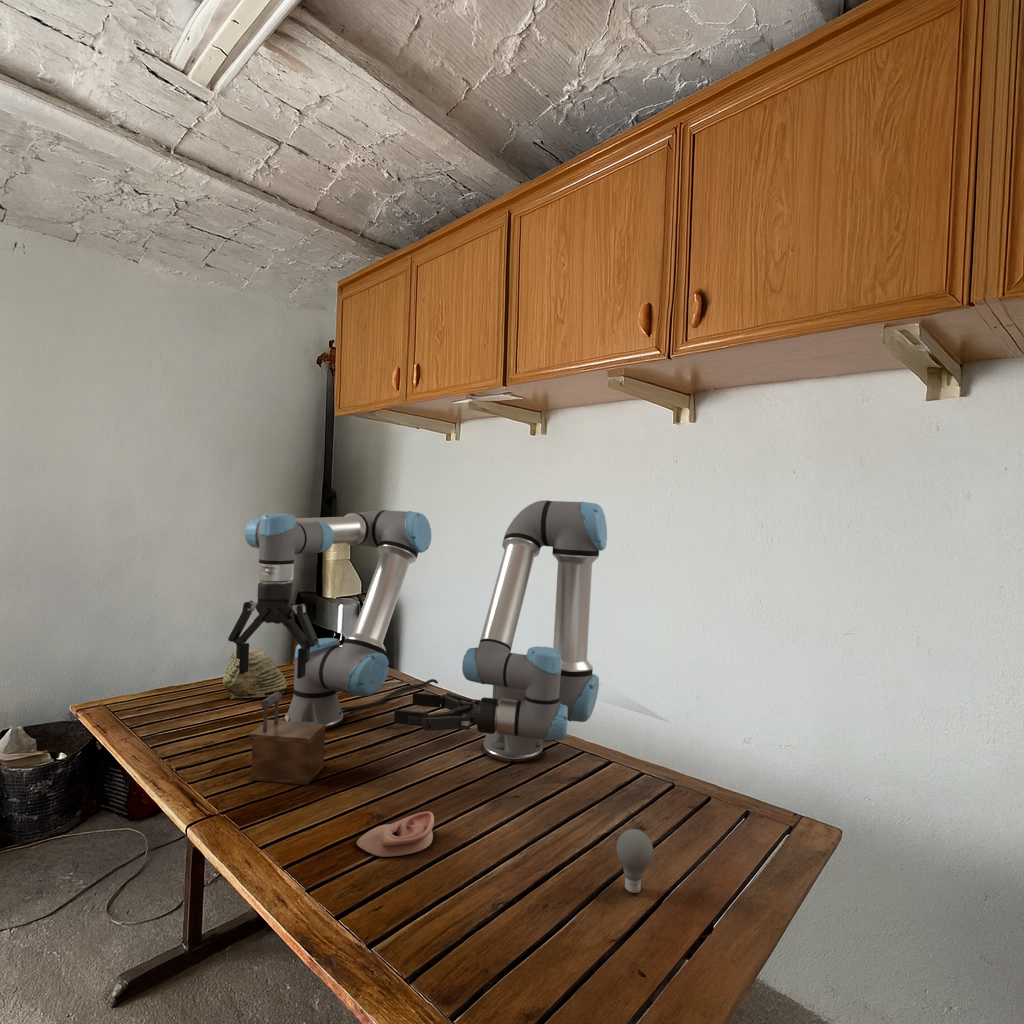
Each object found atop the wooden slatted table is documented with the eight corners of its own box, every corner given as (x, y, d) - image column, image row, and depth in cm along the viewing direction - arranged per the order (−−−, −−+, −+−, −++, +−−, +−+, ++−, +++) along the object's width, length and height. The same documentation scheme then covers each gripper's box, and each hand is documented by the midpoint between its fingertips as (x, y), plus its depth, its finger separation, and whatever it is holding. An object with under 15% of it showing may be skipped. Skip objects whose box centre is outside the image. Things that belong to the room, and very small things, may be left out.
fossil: (218, 695, 195) (220, 647, 195) (278, 685, 208) (279, 640, 207) (228, 703, 189) (230, 653, 188) (289, 692, 201) (290, 645, 201)
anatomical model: (349, 829, 113) (376, 800, 125) (348, 851, 113) (375, 820, 125) (420, 841, 111) (440, 810, 122) (419, 863, 111) (439, 830, 122)
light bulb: (610, 879, 108) (613, 822, 108) (644, 879, 109) (647, 822, 109) (619, 902, 102) (622, 840, 102) (655, 901, 103) (658, 840, 103)
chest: (250, 780, 140) (252, 739, 140) (270, 762, 149) (271, 724, 149) (307, 784, 139) (309, 744, 139) (323, 767, 148) (325, 728, 148)
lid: (249, 739, 140) (250, 701, 140) (268, 724, 149) (270, 689, 149) (309, 743, 139) (310, 705, 139) (325, 728, 148) (326, 693, 148)
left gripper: (214, 580, 141) (210, 675, 141) (322, 587, 139) (318, 683, 139) (231, 576, 148) (228, 666, 149) (335, 582, 146) (331, 674, 147)
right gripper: (486, 753, 127) (384, 743, 130) (504, 716, 152) (418, 707, 155) (488, 716, 127) (386, 706, 130) (506, 684, 152) (420, 677, 155)
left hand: (272, 674), depth 144 cm, fingers open, 13 cm apart
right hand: (404, 707), depth 143 cm, fingers open, 13 cm apart
